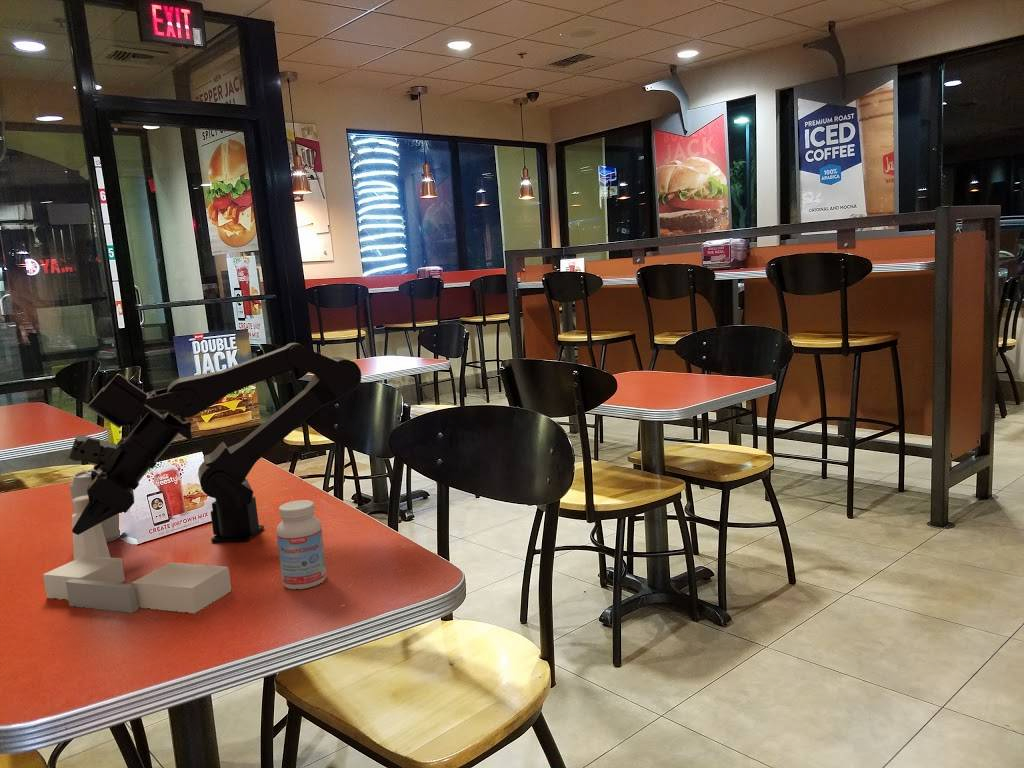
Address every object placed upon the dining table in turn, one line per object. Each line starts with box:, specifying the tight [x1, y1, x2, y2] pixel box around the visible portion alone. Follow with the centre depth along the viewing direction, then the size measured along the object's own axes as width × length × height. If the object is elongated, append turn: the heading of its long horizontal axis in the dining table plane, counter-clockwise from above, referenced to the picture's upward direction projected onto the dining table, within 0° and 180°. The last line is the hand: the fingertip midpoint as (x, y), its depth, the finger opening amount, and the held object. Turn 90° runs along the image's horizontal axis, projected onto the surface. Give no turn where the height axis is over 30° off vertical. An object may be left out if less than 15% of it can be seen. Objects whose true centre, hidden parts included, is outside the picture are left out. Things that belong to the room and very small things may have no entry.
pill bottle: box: [276, 499, 327, 590], centre depth 105 cm, size 6×6×11 cm
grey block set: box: [42, 556, 232, 614], centre depth 105 cm, size 26×8×4 cm, turn 71°
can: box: [69, 468, 120, 543], centre depth 130 cm, size 8×8×12 cm
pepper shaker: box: [71, 495, 111, 561], centre depth 118 cm, size 5×5×11 cm
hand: (76, 526), depth 117 cm, fingers open, 7 cm apart
